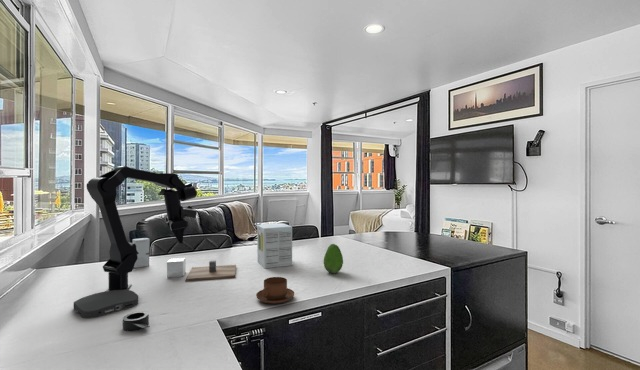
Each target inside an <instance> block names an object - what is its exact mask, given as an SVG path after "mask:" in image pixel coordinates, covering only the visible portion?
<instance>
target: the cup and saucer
mask: <svg viewBox="0 0 640 370" xmlns="http://www.w3.org/2000/svg"><path fill="white" fill-rule="evenodd" d="M294 296H295V291H294V290H292V289H291V288H288V279H287V278H286V277H282V276H272V277H267V278H265V279H264V280H263V288H262V289H261V290H259V291H258V292H256V299H258V300H259V301H260V302H262V303H263V304H264V303H265V304H274V305H275V304H282V303H285V302H289V301H290V300H291V299H292V298H294Z"/></svg>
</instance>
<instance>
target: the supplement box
mask: <svg viewBox="0 0 640 370" xmlns="http://www.w3.org/2000/svg"><path fill="white" fill-rule="evenodd" d="M256 226H257V227H256V231H257V232H256V235H257V236H256V237H257V238H256V239H257V249H256V250H257V251H256V253H257V257H256V258H257V259H256V260H257V263H258V264H260V265H261V267H262V268H264V269H271V268H278V267H289V266H292V265H293V226H291V225H289V224H286V223H283V222H282V223H281V222H279V223H266V224H265V223H263V224H256Z"/></svg>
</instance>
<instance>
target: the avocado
mask: <svg viewBox="0 0 640 370" xmlns="http://www.w3.org/2000/svg"><path fill="white" fill-rule="evenodd" d="M343 265H344V259H343V253H342V250H341V248H340V247H339V246H338V245H337V244H335V243H331V244H330V245H329V246H328V247H327V249H326V251H325V254H324V257H323V266H324V269H325V270H326V271H327V272H328V273H329V274H330V273H331V274H338V272H340V270H342V267H343Z"/></svg>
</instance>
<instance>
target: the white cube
mask: <svg viewBox="0 0 640 370" xmlns="http://www.w3.org/2000/svg"><path fill="white" fill-rule="evenodd" d="M186 271H187V270H186V257H174V258H173V257H172V258H169V259H168V260H167V262H166V277H167V278H177V277H178V278H179V277H180V278H181V277H184V275H185V274H186Z"/></svg>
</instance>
